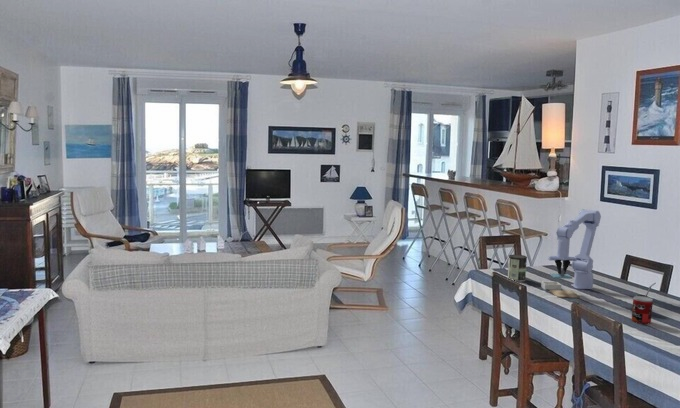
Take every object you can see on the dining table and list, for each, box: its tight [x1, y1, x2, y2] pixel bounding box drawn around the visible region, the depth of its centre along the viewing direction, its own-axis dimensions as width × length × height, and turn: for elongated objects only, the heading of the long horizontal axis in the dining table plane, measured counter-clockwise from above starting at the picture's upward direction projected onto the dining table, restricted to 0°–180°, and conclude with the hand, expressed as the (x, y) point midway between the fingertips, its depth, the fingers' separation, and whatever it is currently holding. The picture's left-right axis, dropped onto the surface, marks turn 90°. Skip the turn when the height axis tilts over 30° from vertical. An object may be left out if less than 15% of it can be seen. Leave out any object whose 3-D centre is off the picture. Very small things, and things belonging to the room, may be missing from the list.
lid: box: [549, 268, 573, 280], centre depth 306 cm, size 10×7×4 cm
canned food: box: [631, 295, 654, 325], centre depth 260 cm, size 8×8×11 cm
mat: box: [549, 289, 581, 299], centre depth 303 cm, size 12×12×1 cm
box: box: [540, 280, 562, 291], centre depth 315 cm, size 9×6×3 cm, turn 89°
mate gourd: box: [635, 282, 657, 298], centre depth 274 cm, size 8×8×15 cm
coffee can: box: [507, 254, 528, 283], centre depth 333 cm, size 10×10×14 cm
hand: (561, 273), depth 306 cm, fingers closed on lid, 2 cm apart
